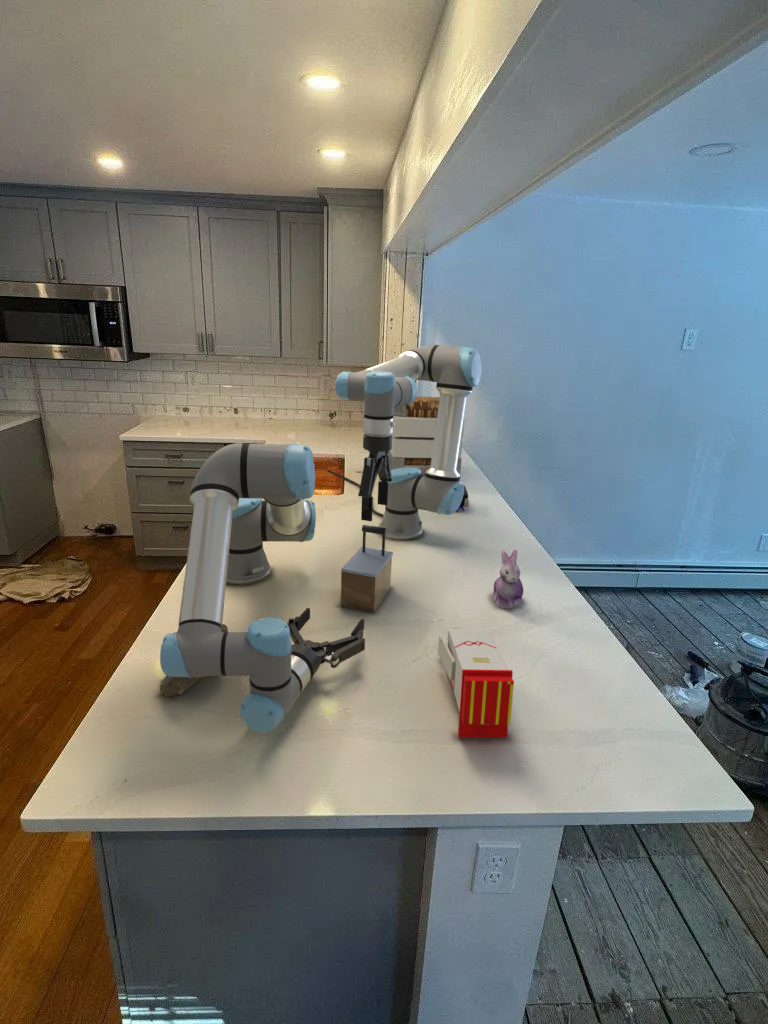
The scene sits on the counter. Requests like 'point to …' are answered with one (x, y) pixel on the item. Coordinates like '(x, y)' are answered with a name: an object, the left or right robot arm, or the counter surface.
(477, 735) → the toy
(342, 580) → the chest
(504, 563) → the figurine
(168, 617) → the counter surface
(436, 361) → the right robot arm
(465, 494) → the figurine character
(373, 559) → the lid
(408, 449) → the white slatted crate
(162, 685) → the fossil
